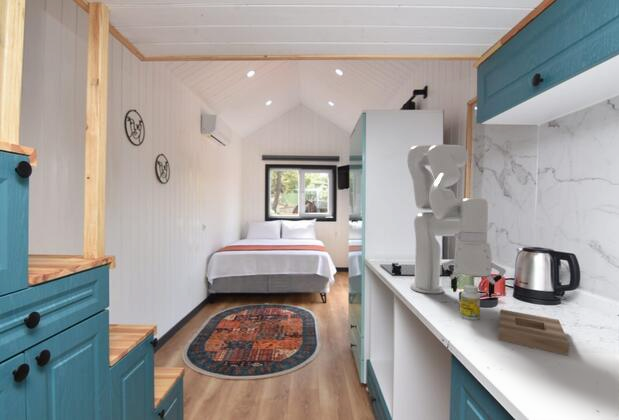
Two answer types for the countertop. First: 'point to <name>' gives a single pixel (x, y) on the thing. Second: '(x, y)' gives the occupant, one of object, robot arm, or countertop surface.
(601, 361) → the countertop surface
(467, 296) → the supplement bottle
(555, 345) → the bottle caddy
